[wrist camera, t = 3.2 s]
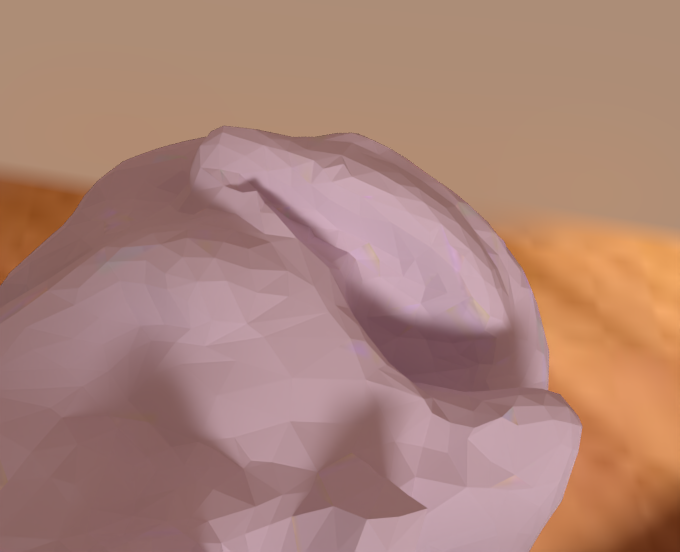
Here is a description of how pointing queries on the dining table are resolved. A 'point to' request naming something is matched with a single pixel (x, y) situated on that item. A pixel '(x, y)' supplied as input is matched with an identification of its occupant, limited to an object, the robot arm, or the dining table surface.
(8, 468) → the ice cream cone
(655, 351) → the dining table surface
